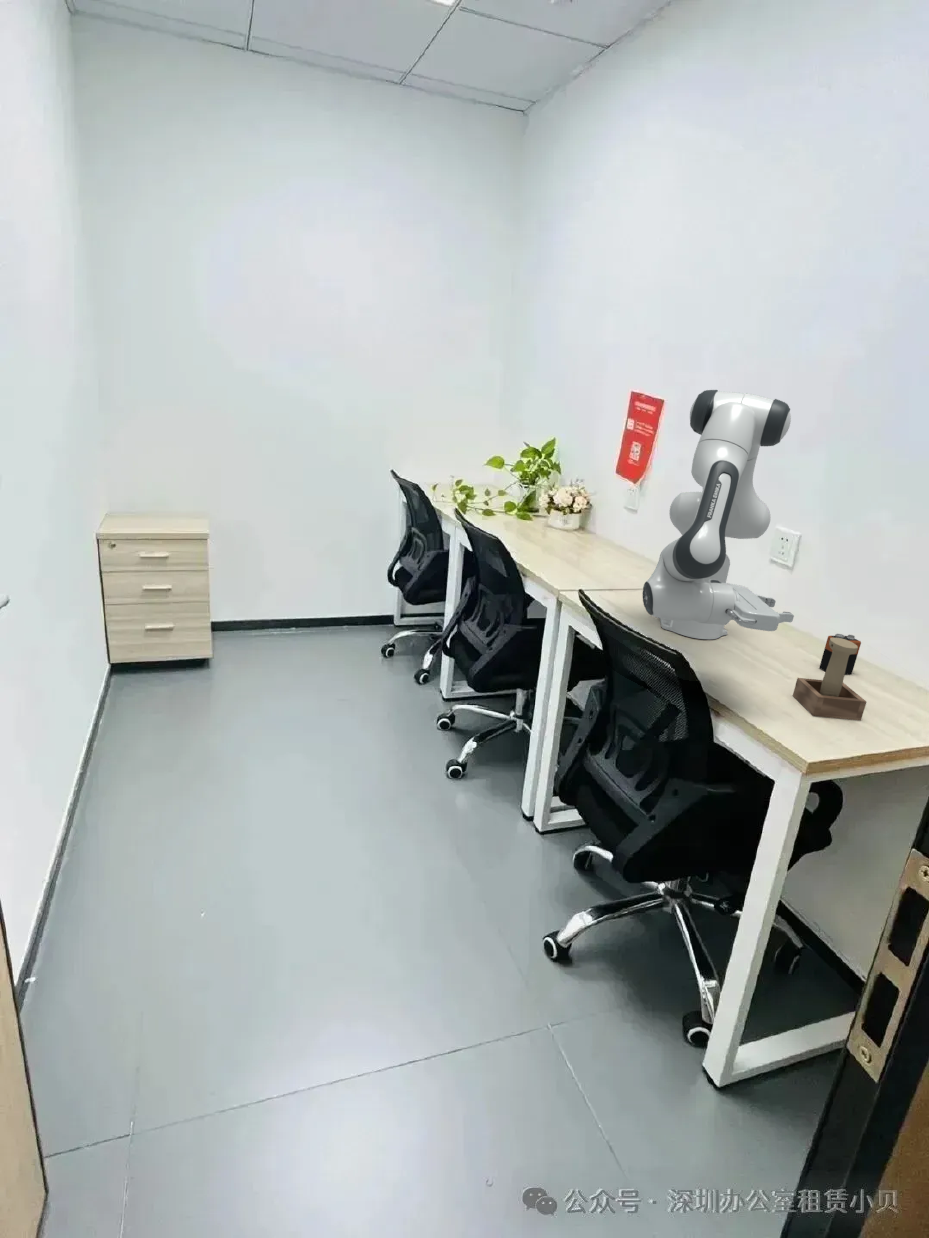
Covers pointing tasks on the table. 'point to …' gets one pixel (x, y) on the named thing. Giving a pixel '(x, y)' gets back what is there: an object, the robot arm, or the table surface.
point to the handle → (837, 666)
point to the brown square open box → (829, 700)
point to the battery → (828, 650)
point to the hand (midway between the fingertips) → (782, 609)
